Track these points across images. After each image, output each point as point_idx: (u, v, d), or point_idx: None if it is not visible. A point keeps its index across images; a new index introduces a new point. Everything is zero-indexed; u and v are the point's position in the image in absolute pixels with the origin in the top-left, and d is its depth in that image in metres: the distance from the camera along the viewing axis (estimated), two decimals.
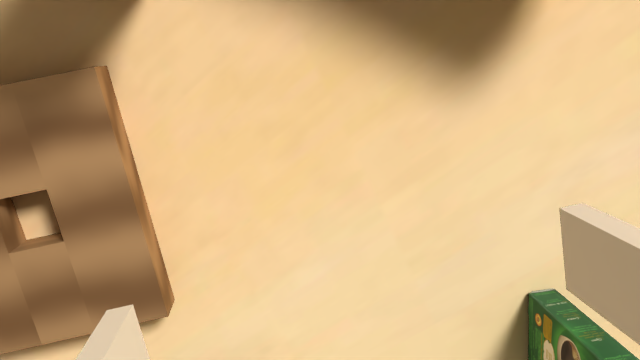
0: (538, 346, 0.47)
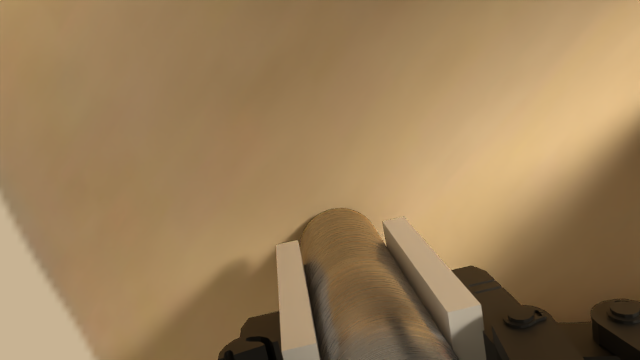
0: None
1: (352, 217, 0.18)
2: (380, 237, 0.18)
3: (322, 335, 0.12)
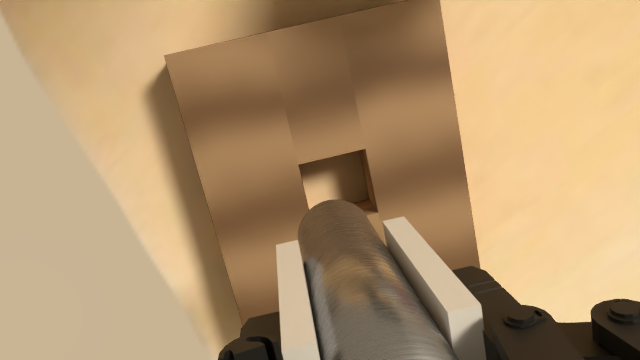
0: None
1: (347, 207, 0.19)
2: None
3: (317, 312, 0.13)
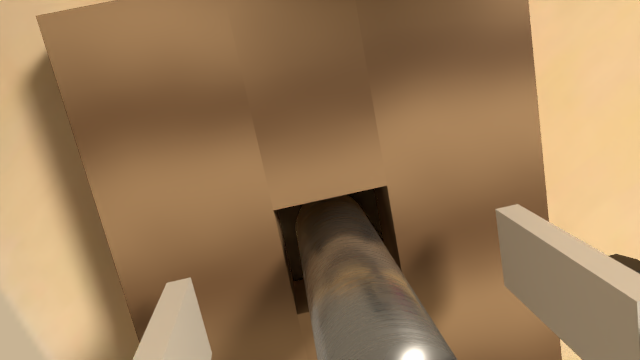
0: None
1: (341, 198, 0.21)
2: (366, 216, 0.20)
3: (311, 290, 0.15)
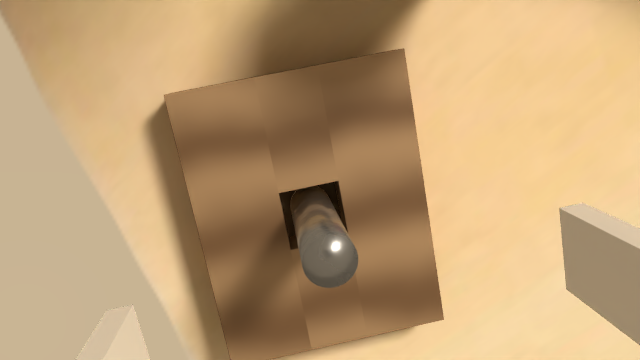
0: None
1: (315, 188, 0.38)
2: (328, 198, 0.37)
3: (297, 226, 0.32)
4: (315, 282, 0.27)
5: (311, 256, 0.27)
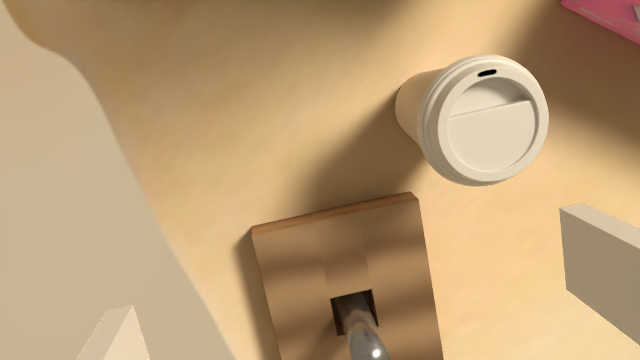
0: None
1: None
2: (364, 297, 0.52)
3: (346, 331, 0.46)
4: None
5: None
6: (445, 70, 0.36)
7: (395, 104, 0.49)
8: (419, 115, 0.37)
